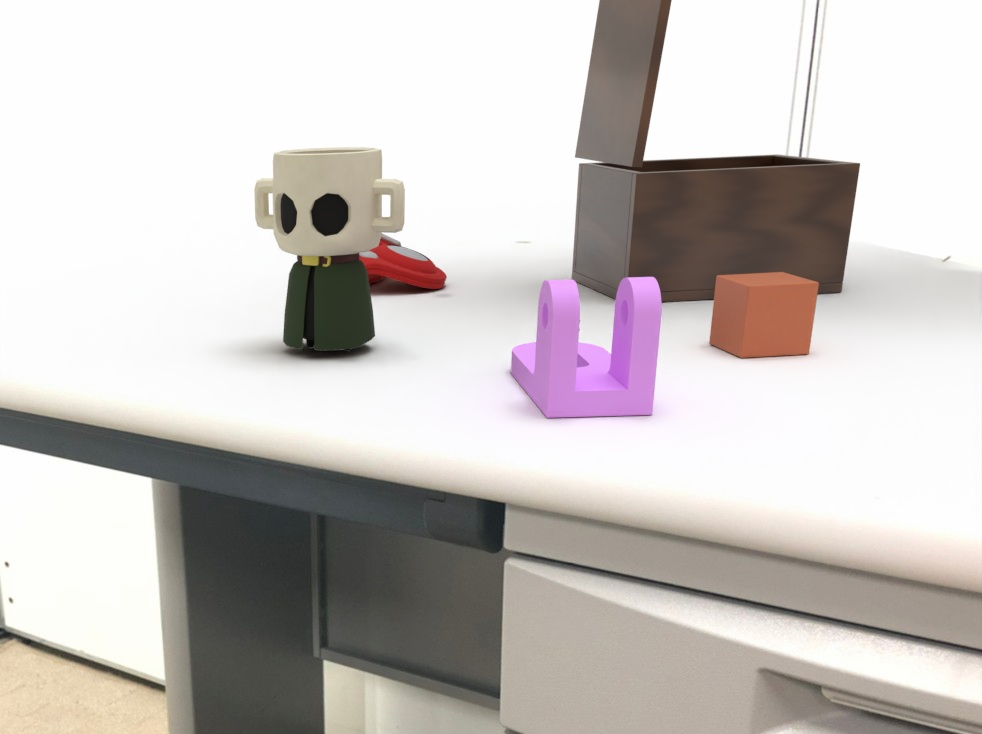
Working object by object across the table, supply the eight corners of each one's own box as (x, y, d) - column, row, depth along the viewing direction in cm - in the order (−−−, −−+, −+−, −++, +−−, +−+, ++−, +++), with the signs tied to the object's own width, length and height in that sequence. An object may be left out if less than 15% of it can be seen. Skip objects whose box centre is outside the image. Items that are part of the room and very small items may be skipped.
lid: (622, -86, 95) (554, -92, 94) (691, -110, 83) (614, -118, 83) (583, 158, 102) (519, 153, 101) (642, 167, 90) (570, 162, 89)
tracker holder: (473, 273, 103) (381, 256, 98) (454, 321, 105) (363, 307, 100) (399, 228, 112) (311, 210, 107) (383, 273, 114) (296, 258, 109)
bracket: (652, 414, 64) (664, 282, 61) (546, 417, 64) (554, 286, 61) (591, 361, 76) (599, 249, 73) (503, 364, 76) (508, 252, 73)
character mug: (234, 354, 82) (226, 154, 77) (283, 334, 87) (279, 147, 83) (380, 366, 77) (382, 153, 72) (422, 345, 82) (426, 146, 77)
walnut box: (763, 269, 106) (777, 154, 103) (841, 292, 95) (860, 163, 91) (571, 279, 105) (578, 163, 102) (626, 304, 94) (636, 173, 90)
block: (774, 340, 80) (782, 271, 78) (809, 354, 75) (819, 282, 74) (708, 343, 79) (716, 275, 78) (740, 358, 75) (749, 285, 73)
